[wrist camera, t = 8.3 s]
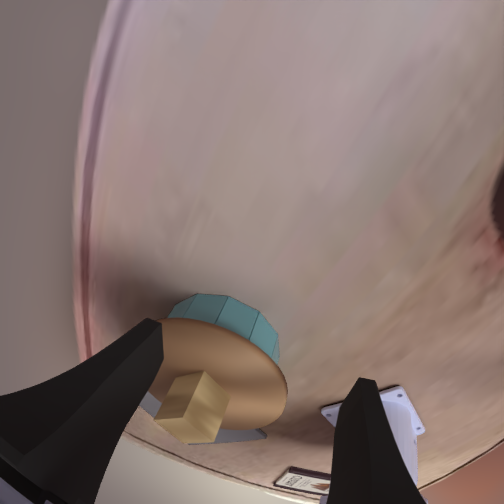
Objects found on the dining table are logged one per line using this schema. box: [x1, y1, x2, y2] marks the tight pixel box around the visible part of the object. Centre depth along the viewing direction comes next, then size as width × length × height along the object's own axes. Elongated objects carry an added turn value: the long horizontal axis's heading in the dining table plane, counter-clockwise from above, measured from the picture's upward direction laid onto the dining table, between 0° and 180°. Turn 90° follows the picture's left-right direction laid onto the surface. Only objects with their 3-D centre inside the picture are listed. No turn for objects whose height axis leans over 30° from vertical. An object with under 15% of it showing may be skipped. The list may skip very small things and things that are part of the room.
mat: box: [139, 391, 267, 445], centre depth 33 cm, size 13×13×1 cm
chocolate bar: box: [273, 466, 331, 496], centre depth 37 cm, size 9×1×18 cm
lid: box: [148, 317, 288, 443], centre depth 20 cm, size 12×12×5 cm
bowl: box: [167, 294, 280, 364], centre depth 24 cm, size 9×9×4 cm
